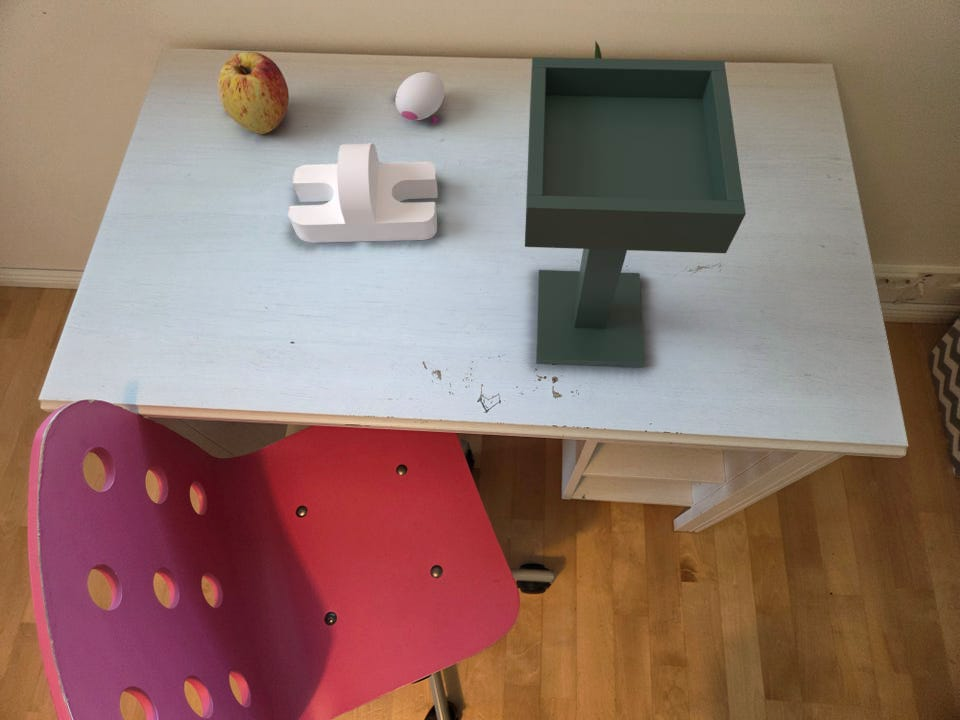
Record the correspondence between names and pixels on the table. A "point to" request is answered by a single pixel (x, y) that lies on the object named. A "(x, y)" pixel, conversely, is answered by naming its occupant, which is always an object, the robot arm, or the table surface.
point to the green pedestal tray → (623, 189)
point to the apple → (253, 91)
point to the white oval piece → (420, 96)
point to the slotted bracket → (364, 199)
